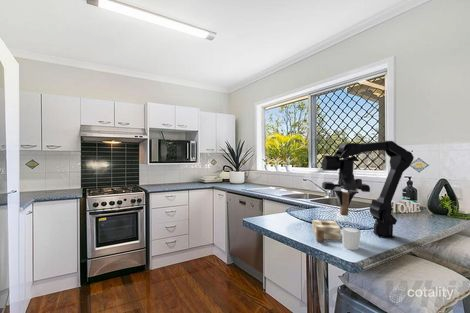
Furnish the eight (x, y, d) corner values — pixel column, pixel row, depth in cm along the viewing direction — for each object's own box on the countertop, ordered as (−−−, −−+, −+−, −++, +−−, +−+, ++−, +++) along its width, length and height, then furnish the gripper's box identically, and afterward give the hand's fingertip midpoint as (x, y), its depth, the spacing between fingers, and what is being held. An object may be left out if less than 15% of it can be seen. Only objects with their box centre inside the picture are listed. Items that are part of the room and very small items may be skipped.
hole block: (334, 231, 114) (334, 220, 113) (340, 239, 104) (340, 228, 103) (312, 230, 115) (312, 219, 115) (316, 238, 105) (316, 226, 105)
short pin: (322, 240, 103) (322, 228, 103) (323, 242, 100) (324, 230, 100) (316, 239, 103) (316, 228, 103) (317, 242, 101) (317, 230, 101)
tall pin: (346, 214, 109) (347, 192, 109) (347, 215, 107) (349, 193, 106) (340, 213, 110) (341, 191, 109) (341, 215, 107) (342, 193, 107)
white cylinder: (354, 252, 92) (355, 234, 91) (337, 245, 97) (338, 228, 97) (363, 247, 96) (364, 230, 95) (346, 242, 101) (347, 225, 101)
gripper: (328, 172, 101) (326, 209, 101) (376, 174, 98) (374, 212, 99) (322, 169, 112) (321, 202, 112) (365, 171, 109) (363, 205, 110)
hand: (344, 205), depth 108 cm, fingers closed on tall pin, 3 cm apart
